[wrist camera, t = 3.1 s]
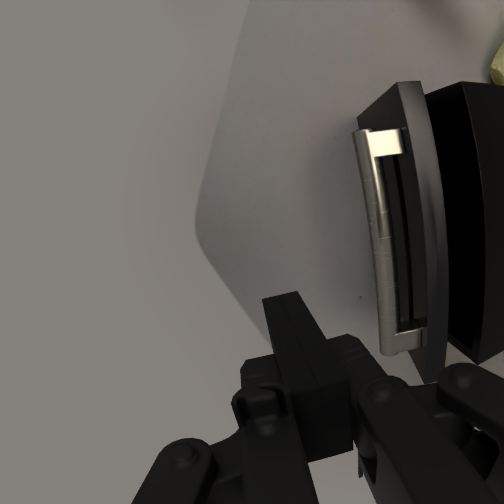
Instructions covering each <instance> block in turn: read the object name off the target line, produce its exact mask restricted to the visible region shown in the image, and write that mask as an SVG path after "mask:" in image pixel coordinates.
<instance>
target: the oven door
mask: <svg viewBox="0 0 504 504" xmlns="http://www.w3.org/2000/svg"><path fill="white" fill-rule="evenodd" d="M357 121H358V125H359V130H357V131H353V132H352V138H353V142H354V147H355V152H356V157H357V162H358V167H359V172H360V177H361V183H362V188H363V194H364V200H365V206H366V213H367V219H368V226H369V233H370V241H371V249H372V257H373V266H374V276H375V286H376V297H377V310H378V325H379V345H380V353H381V354H382V355H384V356H394V355H396V354H398V353H399V352H402V351H408V352H409V354H410V356H411V358H412V360H413V362H414V364H415V366H416V368H417V370H418V372H419V374H420V377H421V379H422V381H423V383H424V384H428V383H432V382H436V381H438V377H439V374H440V372H441V371H442V370H443V369H444V368H445V360H446V349H447V335H448V314H449V262H448V241H447V227H446V216H445V206H444V197H443V189H442V181H441V175H440V168H439V162H438V156H437V150H436V145H435V140H434V135H433V130H432V125H431V121H430V117H429V112H428V108H427V104H426V100H425V96H424V93H423V89H422V85H421V82H420V81H408V82H396V83H395V84H394V85H393V86H392V87H391V88H390V89H388V90H387V91H386V92H385V93H384V94H383V95H381V96H380V97H379V98H378V99H377V100H376V101H375V102H374V103H372V104H371V105H370V106H369V107H368V108H367V109H366V110H364V111H363V112H362V113H361V114H360V115H359V116H358V117H357Z"/></svg>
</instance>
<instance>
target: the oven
mask: <svg viewBox="0 0 504 504" xmlns="http://www.w3.org/2000/svg"><path fill="white" fill-rule="evenodd" d="M424 96H425V100H426V104H427V108H428V112H429V117H430V121H431V125H432V130H433V135H434V140H435V145H436V150H437V156H438V162H439V168H440V175H441V181H442V189H443V197H444V206H445V216H446V227H447V241H448V262H449V314H448V335H447V341H448V342H449V343H451V344H452V345H453V346H454V347H456V348H457V349H458V350H459V351H461V352H462V353H463V354H464V355H465V356H467V357H468V358H469V359H471V360H472V361H473V362H474V363H475V364H476V365H479V364H480V363H482V362H484V361H486V360H488V359H490V358H491V357H493V356H495V355H497V354H498V353H500V352H502V351H503V350H504V85H496V84H487V83H476V82H464V81H461V82H458V83H455V84H452V85H449V86H447V87H444V88H441V89H438V90H436V91H433V92H431V93H428V94H425V95H424Z"/></svg>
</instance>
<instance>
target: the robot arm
mask: <svg viewBox="0 0 504 504" xmlns="http://www.w3.org/2000/svg"><path fill="white" fill-rule="evenodd" d="M262 303H263V307H264V312H265V316H266V321H267V325H268V330H269V334H270V339H271V343H272V348H273V353H274V354H271V355H266V356H262V357H257V358H253V359H248V360H246V361H245V362H244V364H243V366H242V367H241V369H240V373H241V387H242V388H241V389H240V390H239V391H238V392H237V393H236V394H235V395H234V396H233V398H232V401H231V405H232V409H233V411H234V414H235V417H236V420H237V423H238V426H239V429H238V430H237V431H236V433H234V434H233V435H232V436H230V437H229V438H227V439H225V440H223V441H220V442H217V443H215V444H213V445H208V444H207V443H206V442H204V441H203V440H200V439H195V438H185V439H180V440H177V441H174V442H172V443H170V444H169V445H167V446H166V447H164V448H163V450H162V451H161V452H160V453H159V454H158V456H157V458H156V460H155V462H154V464H153V466H152V467H151V469H150V471H149V473H148V475H147V476H146V478H145V480H144V482H143V483H142V485H141V487H140V489H139V491H138V493H137V494H136V496H135V498H134V500H133V502H132V503H131V504H319V502H318V498H317V494H316V491H315V487H314V484H313V480H312V477H311V473H310V470H309V466H308V463H309V462H313V461H316V460H321V459H324V458H328V457H332V456H335V455H338V454H342V453H345V452H348V451H351V450H353V440H354V442H355V444H356V447H357V448H358V474H359V478H360V477H362V476H363V473H364V476H365V478H366V480H367V483H368V485H369V487H370V489H371V492H372V494H373V496H374V499H375V501H376V503H377V504H504V378H502V377H500V376H498V375H496V374H494V373H492V372H490V371H488V370H486V369H484V368H482V367H480V366H478V365H475V364H471V363H456V364H451V365H449V366H447V367H445V368H444V369H443V370H442V371H441V372H440V374H439V377H438V382H437V383H432V384H426V385H420V386H408V384H407V383H406V382H405V381H403V380H402V379H401V378H398V377H395V376H388V375H387V374H386V373H385V371H384V370H383V369H382V368H381V366H380V365H379V364H378V363H377V361H376V360H375V359H374V357H373V356H372V355H371V354H370V352H369V351H368V350H367V349H366V348H365V346H364V345H363V344H362V342H361V341H360V340H359V339H358V338H356V337H354V336H352V335H349V334H345V335H342V336H338V337H334V338H331V339H326V338H325V336H324V334H323V333H322V331H321V329H320V328H319V326H318V325H317V323H316V321H315V320H314V318H313V316H312V315H311V313H310V311H309V310H308V308H307V306H306V305H305V303H304V301H303V300H302V298H301V296H300V295H299V293H298V292H297V291H295V292H290V293H286V294H282V295H277V296H273V297H269V298H264V299H262ZM474 427H476V428H478V429H479V430H481V431H478V430H476V429H474Z"/></svg>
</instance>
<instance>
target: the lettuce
mask: <svg viewBox="0 0 504 504" xmlns="http://www.w3.org/2000/svg"><path fill="white" fill-rule="evenodd" d="M489 74H490V76H491V78H492V80H493V82H494V83H495V84H496V85H504V40H503V41H502V43H501V45H500V47H499V49H498V51H497V53H496V55H495V57H494V59H493V61H492V63H491V67H490V71H489Z"/></svg>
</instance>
